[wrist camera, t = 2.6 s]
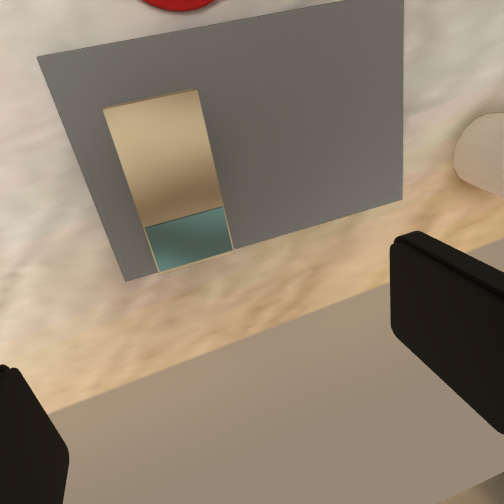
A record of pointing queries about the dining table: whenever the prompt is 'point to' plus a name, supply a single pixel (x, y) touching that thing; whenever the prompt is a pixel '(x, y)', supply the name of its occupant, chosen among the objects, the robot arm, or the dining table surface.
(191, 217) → the birch tile
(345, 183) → the rubber mat
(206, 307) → the dining table surface
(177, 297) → the dining table surface
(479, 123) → the white cylinder
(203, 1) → the tracker holder
